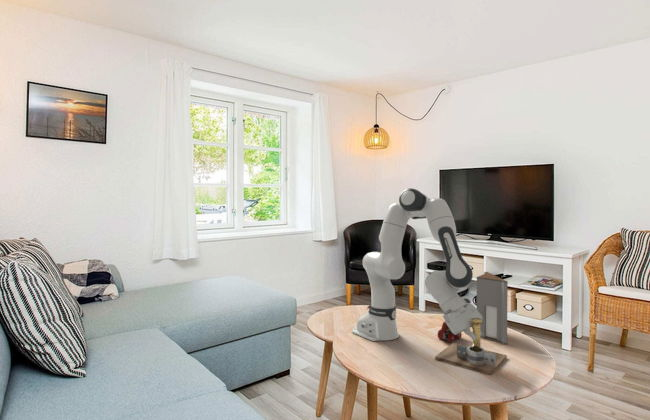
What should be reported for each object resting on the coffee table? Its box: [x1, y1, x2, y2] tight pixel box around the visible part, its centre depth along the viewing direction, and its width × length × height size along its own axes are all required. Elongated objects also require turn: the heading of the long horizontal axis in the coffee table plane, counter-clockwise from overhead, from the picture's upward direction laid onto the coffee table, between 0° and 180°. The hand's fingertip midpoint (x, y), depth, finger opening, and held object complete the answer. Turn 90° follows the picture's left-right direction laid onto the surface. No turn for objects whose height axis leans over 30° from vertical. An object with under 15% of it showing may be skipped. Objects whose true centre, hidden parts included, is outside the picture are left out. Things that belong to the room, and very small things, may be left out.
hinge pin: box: [471, 318, 482, 352], centre depth 153 cm, size 4×4×14 cm
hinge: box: [457, 345, 496, 367], centre depth 153 cm, size 15×6×5 cm, turn 50°
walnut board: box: [434, 342, 508, 376], centre depth 159 cm, size 22×19×1 cm
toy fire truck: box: [437, 321, 462, 343], centre depth 181 cm, size 7×12×10 cm, turn 128°
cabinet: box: [476, 271, 509, 345], centre depth 183 cm, size 21×10×28 cm, turn 0°
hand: (477, 337), depth 153 cm, fingers closed on hinge pin, 3 cm apart
